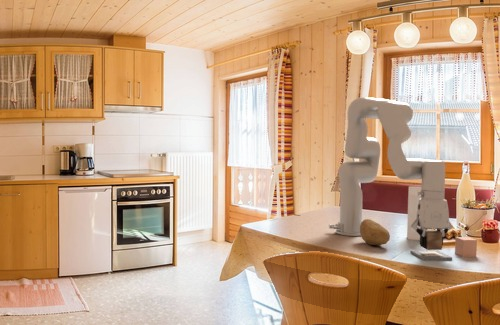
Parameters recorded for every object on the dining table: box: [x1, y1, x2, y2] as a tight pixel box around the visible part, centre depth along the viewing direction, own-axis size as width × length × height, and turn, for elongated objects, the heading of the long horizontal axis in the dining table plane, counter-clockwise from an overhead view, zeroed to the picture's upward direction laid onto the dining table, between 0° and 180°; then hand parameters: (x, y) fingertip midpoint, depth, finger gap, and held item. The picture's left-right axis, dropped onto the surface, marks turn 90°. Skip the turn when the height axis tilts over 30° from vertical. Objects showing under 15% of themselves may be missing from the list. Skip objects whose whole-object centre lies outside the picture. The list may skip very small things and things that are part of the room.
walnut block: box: [424, 229, 443, 251], centre depth 153 cm, size 5×5×6 cm
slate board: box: [410, 249, 453, 261], centre depth 154 cm, size 10×10×1 cm
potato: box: [360, 218, 391, 246], centre depth 170 cm, size 9×16×9 cm, turn 10°
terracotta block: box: [454, 236, 478, 258], centre depth 157 cm, size 5×5×6 cm
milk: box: [406, 185, 421, 241], centre depth 183 cm, size 6×6×22 cm
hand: (431, 246), depth 154 cm, fingers closed on walnut block, 5 cm apart
